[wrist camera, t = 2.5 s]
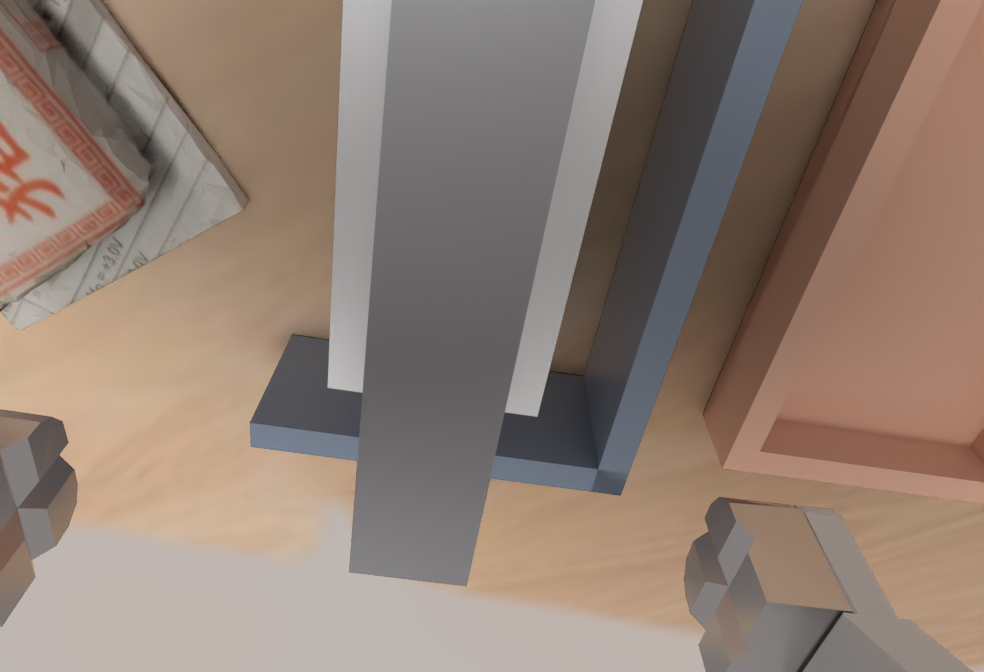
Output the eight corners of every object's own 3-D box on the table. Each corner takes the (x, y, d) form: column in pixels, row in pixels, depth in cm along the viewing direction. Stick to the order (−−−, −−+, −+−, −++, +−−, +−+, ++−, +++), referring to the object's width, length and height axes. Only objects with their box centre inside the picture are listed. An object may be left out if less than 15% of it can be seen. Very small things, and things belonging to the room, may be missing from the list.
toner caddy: (617, -73, 19) (745, -19, 9) (531, 309, 25) (546, 596, 15) (392, -115, 18) (248, -111, 8) (364, 284, 25) (265, 562, 15)
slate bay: (796, -211, 17) (892, -242, 13) (603, 400, 27) (620, 495, 23) (295, -316, 16) (219, -385, 12) (292, 356, 26) (250, 447, 22)
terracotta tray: (1296, -10, 19) (1416, 7, 16) (966, 451, 28) (1010, 507, 26) (912, -85, 18) (977, -80, 16) (702, 414, 27) (722, 468, 25)
